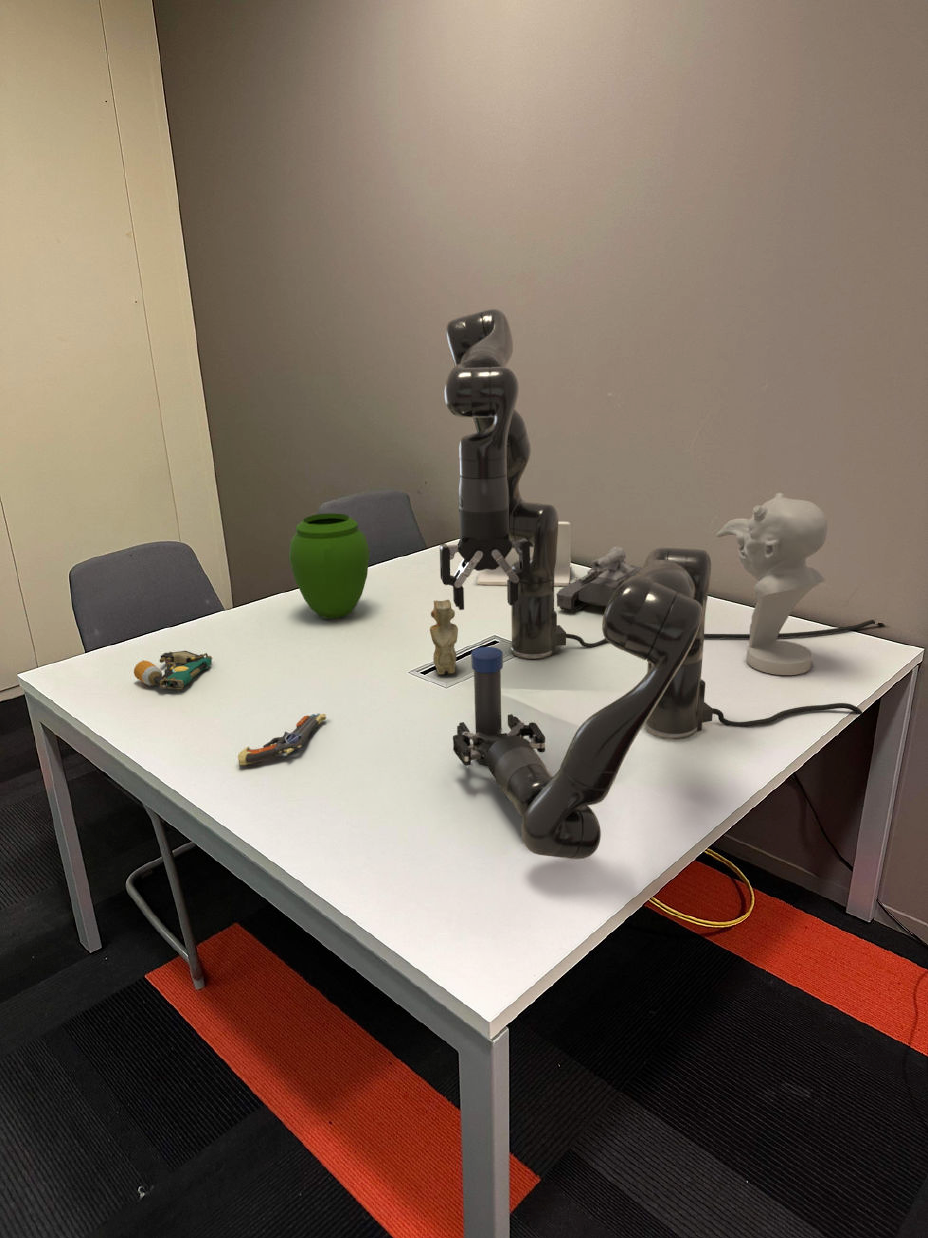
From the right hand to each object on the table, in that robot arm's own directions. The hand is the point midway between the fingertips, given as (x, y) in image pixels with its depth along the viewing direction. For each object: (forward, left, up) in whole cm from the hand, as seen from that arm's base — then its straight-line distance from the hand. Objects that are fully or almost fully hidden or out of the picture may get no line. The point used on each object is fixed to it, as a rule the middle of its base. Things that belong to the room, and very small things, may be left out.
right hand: (485, 723), depth 144 cm
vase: (+14, -80, -6) cm, 81 cm away
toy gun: (+33, -16, -6) cm, 37 cm away
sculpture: (-3, -36, -6) cm, 37 cm away
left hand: (0, +2, +22) cm, 22 cm away
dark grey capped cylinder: (0, +2, -6) cm, 6 cm away
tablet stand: (-42, -92, -6) cm, 101 cm away
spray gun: (+51, -54, -6) cm, 74 cm away
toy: (-54, -60, -6) cm, 81 cm away
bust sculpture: (-67, -19, -6) cm, 70 cm away
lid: (0, +2, +13) cm, 13 cm away
